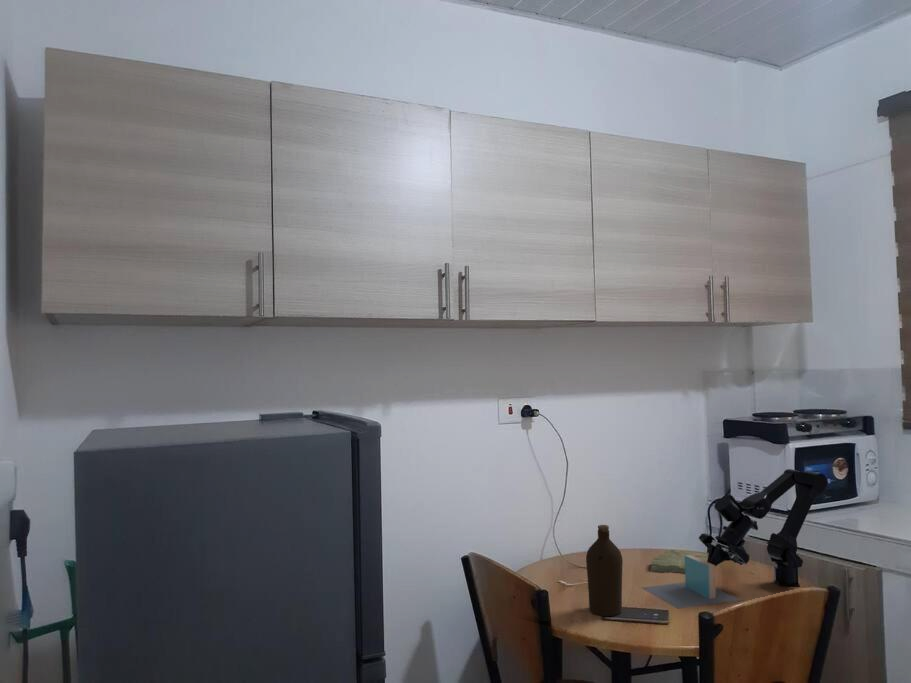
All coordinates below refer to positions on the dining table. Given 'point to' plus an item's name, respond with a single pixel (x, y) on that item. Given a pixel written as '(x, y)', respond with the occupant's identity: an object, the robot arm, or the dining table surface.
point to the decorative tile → (673, 561)
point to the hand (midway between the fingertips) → (707, 568)
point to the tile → (700, 576)
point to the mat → (686, 595)
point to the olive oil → (604, 575)
